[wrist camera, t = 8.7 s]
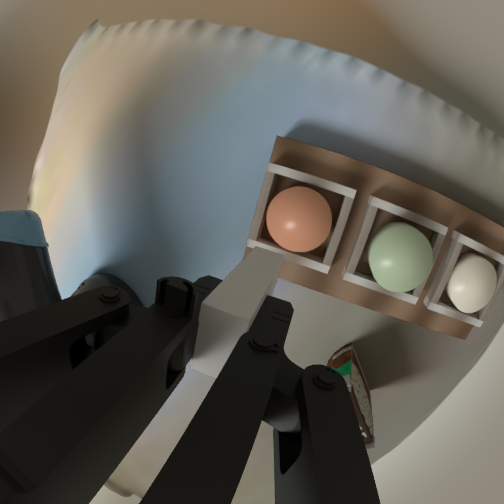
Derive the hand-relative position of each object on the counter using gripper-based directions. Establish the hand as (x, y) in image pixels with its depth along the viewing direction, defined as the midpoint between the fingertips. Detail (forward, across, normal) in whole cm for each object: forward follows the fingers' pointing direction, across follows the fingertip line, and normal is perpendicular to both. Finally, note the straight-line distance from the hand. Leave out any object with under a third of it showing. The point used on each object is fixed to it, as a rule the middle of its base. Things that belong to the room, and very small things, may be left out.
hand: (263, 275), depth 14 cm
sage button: (+13, -10, -1) cm, 17 cm away
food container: (+18, -12, +18) cm, 28 cm away
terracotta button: (+15, 0, -1) cm, 15 cm away
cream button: (+15, -20, -1) cm, 25 cm away
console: (+18, -10, -1) cm, 21 cm away
